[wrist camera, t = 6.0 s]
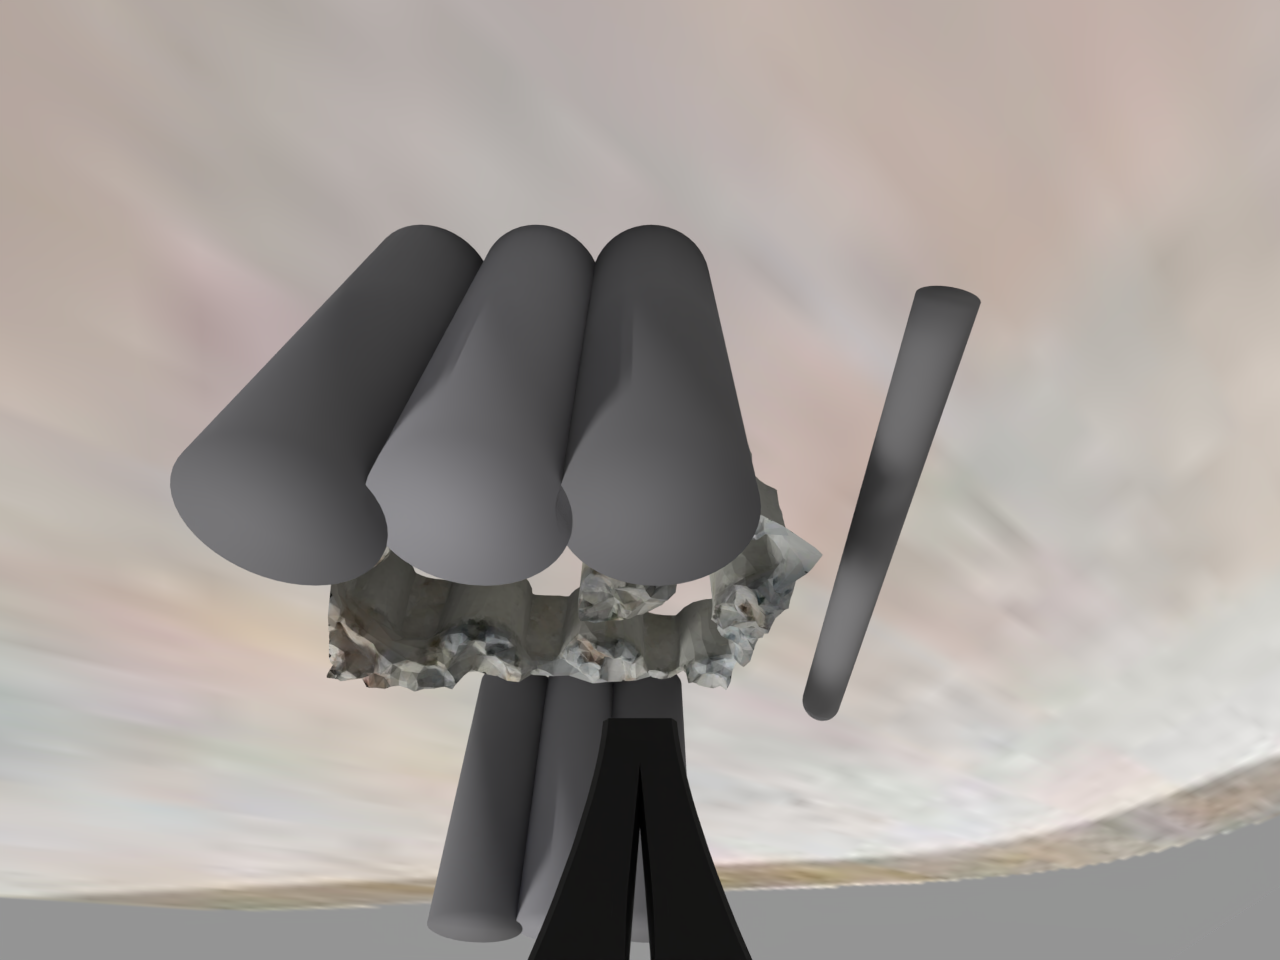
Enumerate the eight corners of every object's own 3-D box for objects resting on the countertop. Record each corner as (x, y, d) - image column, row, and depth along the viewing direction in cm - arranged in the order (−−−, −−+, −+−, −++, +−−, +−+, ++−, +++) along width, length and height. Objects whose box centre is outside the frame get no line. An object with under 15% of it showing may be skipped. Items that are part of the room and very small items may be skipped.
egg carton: (360, 560, 18) (300, 684, 15) (369, 329, 14) (286, 437, 11) (707, 629, 20) (718, 753, 17) (814, 446, 16) (857, 568, 13)
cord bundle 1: (475, 664, 21) (417, 910, 15) (682, 664, 21) (698, 910, 15) (486, 705, 22) (437, 942, 17) (680, 705, 22) (693, 942, 17)
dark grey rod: (906, 285, 13) (927, 310, 12) (965, 285, 13) (991, 310, 12) (796, 695, 22) (803, 728, 21) (831, 695, 22) (839, 728, 21)
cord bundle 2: (357, 224, 12) (130, 431, 7) (713, 224, 12) (773, 431, 7) (389, 339, 14) (222, 585, 8) (706, 340, 14) (750, 586, 8)
